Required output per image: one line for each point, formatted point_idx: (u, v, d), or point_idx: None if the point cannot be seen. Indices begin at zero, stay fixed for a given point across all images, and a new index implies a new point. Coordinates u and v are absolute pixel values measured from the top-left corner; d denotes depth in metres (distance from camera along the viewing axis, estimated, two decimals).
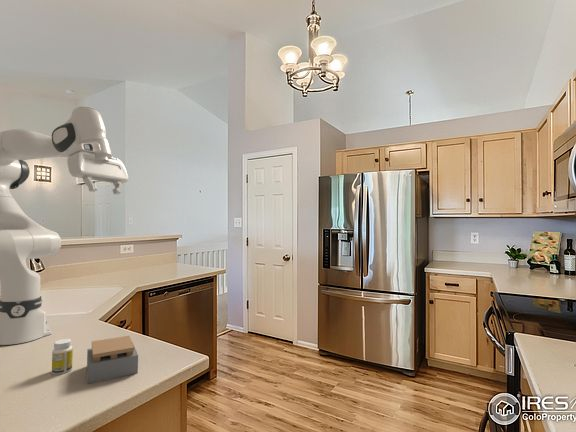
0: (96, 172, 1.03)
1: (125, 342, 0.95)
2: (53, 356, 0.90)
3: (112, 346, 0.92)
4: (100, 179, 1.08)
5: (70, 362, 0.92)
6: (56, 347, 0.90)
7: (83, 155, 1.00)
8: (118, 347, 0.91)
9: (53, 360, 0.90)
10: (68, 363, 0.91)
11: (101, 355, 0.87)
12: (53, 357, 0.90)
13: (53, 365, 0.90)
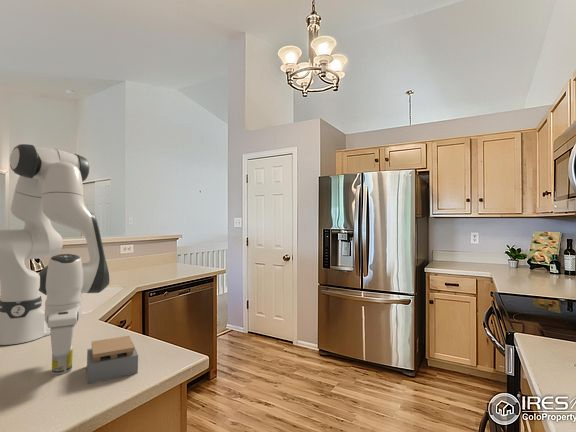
0: None
1: (125, 342, 0.95)
2: None
3: (112, 346, 0.92)
4: None
5: (70, 362, 0.92)
6: None
7: None
8: (118, 347, 0.91)
9: (53, 359, 0.90)
10: (68, 363, 0.91)
11: (101, 355, 0.87)
12: (53, 357, 0.90)
13: (53, 365, 0.90)
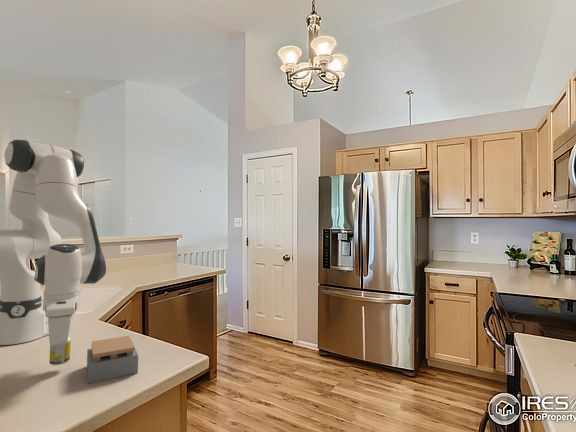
0: None
1: (125, 342, 0.95)
2: (51, 347, 0.90)
3: (112, 346, 0.92)
4: None
5: (68, 353, 0.92)
6: None
7: None
8: (118, 347, 0.91)
9: (50, 350, 0.90)
10: (66, 354, 0.91)
11: (101, 355, 0.87)
12: (51, 348, 0.90)
13: (51, 356, 0.90)
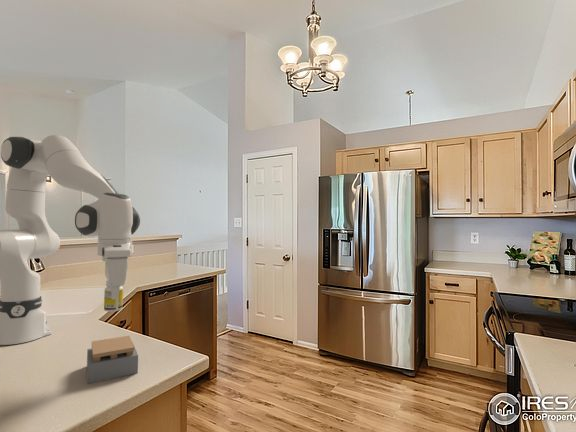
0: None
1: (125, 342, 0.95)
2: (106, 293, 0.92)
3: (112, 346, 0.92)
4: None
5: (121, 301, 0.94)
6: (108, 285, 0.92)
7: None
8: (118, 347, 0.91)
9: (105, 297, 0.92)
10: (119, 301, 0.93)
11: (101, 355, 0.87)
12: (106, 294, 0.92)
13: (106, 302, 0.92)
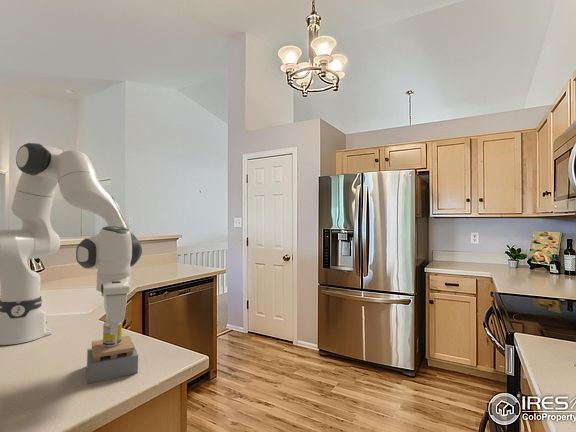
0: None
1: (125, 342, 0.95)
2: (104, 329, 0.92)
3: None
4: None
5: (120, 335, 0.94)
6: (107, 320, 0.92)
7: None
8: (118, 347, 0.91)
9: (104, 332, 0.92)
10: (118, 336, 0.93)
11: (101, 355, 0.87)
12: (104, 330, 0.92)
13: (104, 337, 0.92)
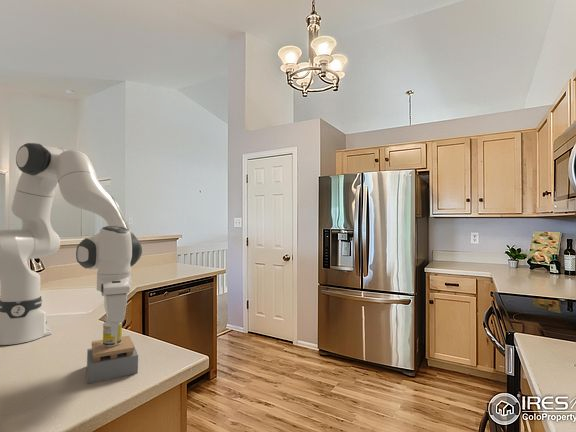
0: None
1: (125, 342, 0.95)
2: (104, 329, 0.92)
3: None
4: None
5: (120, 335, 0.94)
6: (107, 320, 0.92)
7: None
8: (118, 347, 0.91)
9: (104, 332, 0.92)
10: (118, 336, 0.93)
11: (101, 355, 0.87)
12: (104, 330, 0.92)
13: (104, 338, 0.92)
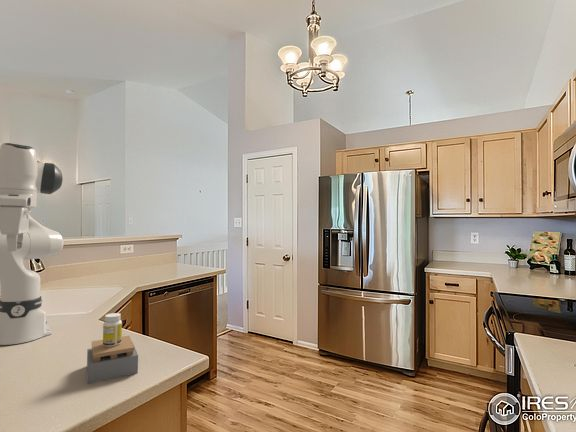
0: (22, 229, 0.90)
1: (125, 342, 0.95)
2: (104, 329, 0.92)
3: None
4: None
5: (120, 335, 0.94)
6: (107, 320, 0.92)
7: None
8: (118, 347, 0.91)
9: (104, 332, 0.92)
10: (118, 336, 0.93)
11: (101, 355, 0.87)
12: (104, 330, 0.92)
13: (104, 338, 0.92)
